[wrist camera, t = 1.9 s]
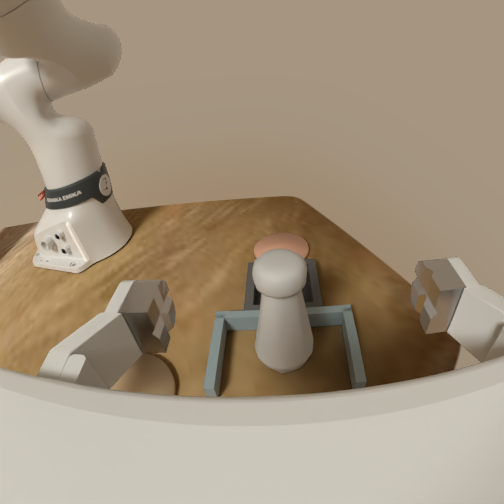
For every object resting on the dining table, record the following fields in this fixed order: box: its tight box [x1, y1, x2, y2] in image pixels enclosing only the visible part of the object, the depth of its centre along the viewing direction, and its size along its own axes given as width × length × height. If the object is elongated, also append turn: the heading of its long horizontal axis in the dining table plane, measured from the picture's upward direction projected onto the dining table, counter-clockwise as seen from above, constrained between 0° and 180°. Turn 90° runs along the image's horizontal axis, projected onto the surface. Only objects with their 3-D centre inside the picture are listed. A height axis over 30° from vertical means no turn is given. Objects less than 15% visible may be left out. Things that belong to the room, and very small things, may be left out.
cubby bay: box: [203, 305, 367, 397], centre depth 31 cm, size 10×15×2 cm, turn 87°
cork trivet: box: [110, 353, 176, 395], centre depth 29 cm, size 10×10×1 cm
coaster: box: [254, 233, 309, 259], centre depth 47 cm, size 8×8×1 cm
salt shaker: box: [252, 248, 314, 374], centre depth 28 cm, size 6×6×13 cm
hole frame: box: [244, 259, 323, 311], centre depth 39 cm, size 9×9×2 cm
